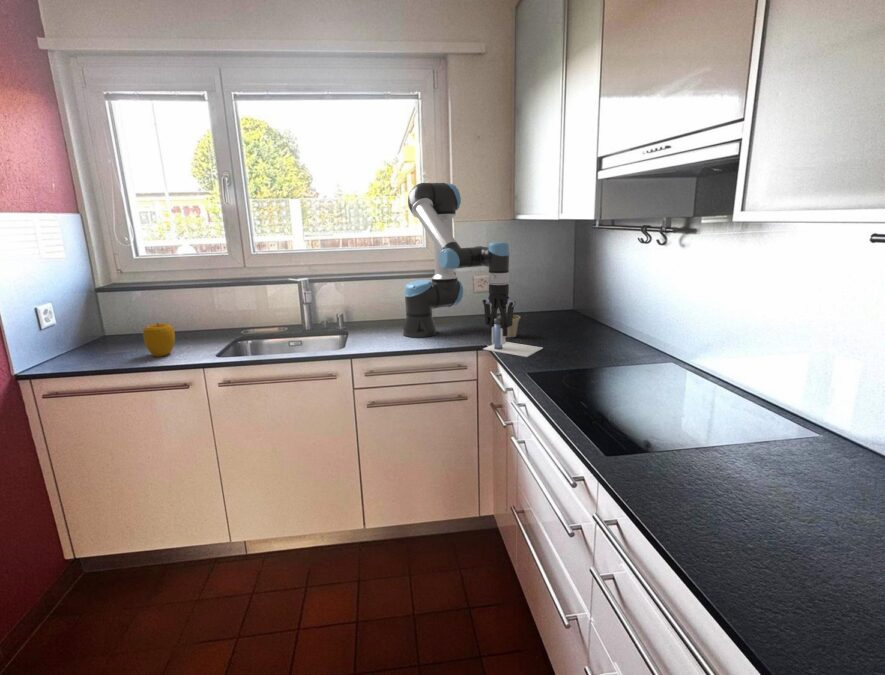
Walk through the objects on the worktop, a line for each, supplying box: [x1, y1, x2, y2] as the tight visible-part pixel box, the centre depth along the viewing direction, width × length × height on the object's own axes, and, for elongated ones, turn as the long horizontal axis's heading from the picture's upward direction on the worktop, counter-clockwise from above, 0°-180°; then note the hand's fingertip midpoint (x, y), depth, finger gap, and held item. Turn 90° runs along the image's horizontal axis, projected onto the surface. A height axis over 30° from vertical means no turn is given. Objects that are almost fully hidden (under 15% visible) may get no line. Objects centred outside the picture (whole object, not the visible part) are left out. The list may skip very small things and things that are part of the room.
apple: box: [142, 322, 176, 358], centre depth 187 cm, size 11×11×13 cm
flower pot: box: [497, 314, 521, 339], centre depth 206 cm, size 9×9×9 cm
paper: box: [482, 341, 544, 358], centre depth 187 cm, size 19×14×1 cm
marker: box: [494, 317, 502, 349], centre depth 186 cm, size 3×3×12 cm
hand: (498, 343), depth 187 cm, fingers closed on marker, 3 cm apart
